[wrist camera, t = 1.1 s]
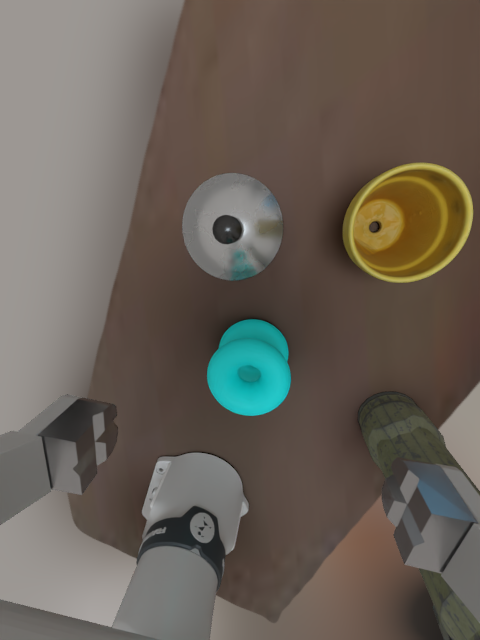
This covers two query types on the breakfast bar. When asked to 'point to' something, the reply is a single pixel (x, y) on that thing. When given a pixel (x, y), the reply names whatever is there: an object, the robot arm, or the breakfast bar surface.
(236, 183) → the steel lid
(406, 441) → the olive green textured cylinder
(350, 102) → the breakfast bar surface
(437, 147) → the breakfast bar surface
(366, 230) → the plant pot
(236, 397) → the donuts
